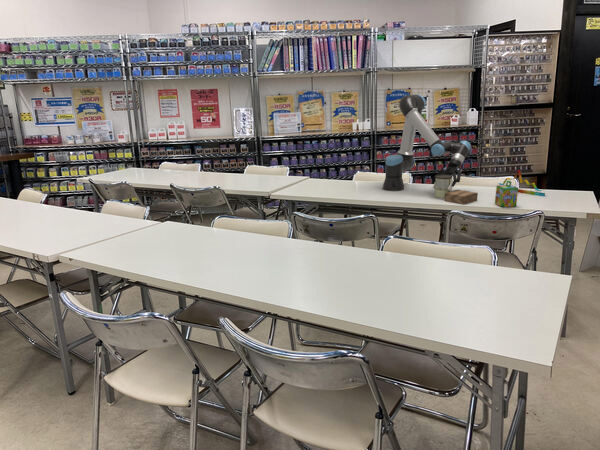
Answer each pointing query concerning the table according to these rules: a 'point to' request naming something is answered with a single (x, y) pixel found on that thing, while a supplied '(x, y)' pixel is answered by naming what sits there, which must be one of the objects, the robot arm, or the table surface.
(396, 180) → the robot arm
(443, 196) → the coffee can
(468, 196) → the walnut block
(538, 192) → the chart
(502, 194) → the colourful patterned gift box
